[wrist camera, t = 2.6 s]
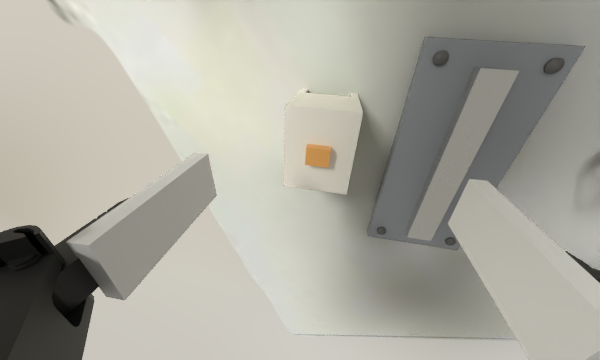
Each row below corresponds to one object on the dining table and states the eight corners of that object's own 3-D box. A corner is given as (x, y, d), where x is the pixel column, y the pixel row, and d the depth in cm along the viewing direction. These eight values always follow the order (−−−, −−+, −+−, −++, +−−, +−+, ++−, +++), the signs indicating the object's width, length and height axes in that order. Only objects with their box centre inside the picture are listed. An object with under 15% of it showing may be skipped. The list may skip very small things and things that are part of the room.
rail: (404, 230, 30) (406, 237, 29) (473, 67, 20) (480, 68, 19) (427, 234, 30) (430, 241, 29) (510, 69, 19) (519, 70, 18)
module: (298, 152, 28) (281, 190, 20) (301, 88, 24) (282, 107, 16) (345, 157, 27) (346, 199, 20) (357, 93, 23) (364, 115, 16)
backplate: (367, 231, 32) (368, 237, 31) (424, 37, 20) (429, 37, 19) (453, 244, 31) (457, 251, 30) (574, 46, 18) (589, 46, 17)
